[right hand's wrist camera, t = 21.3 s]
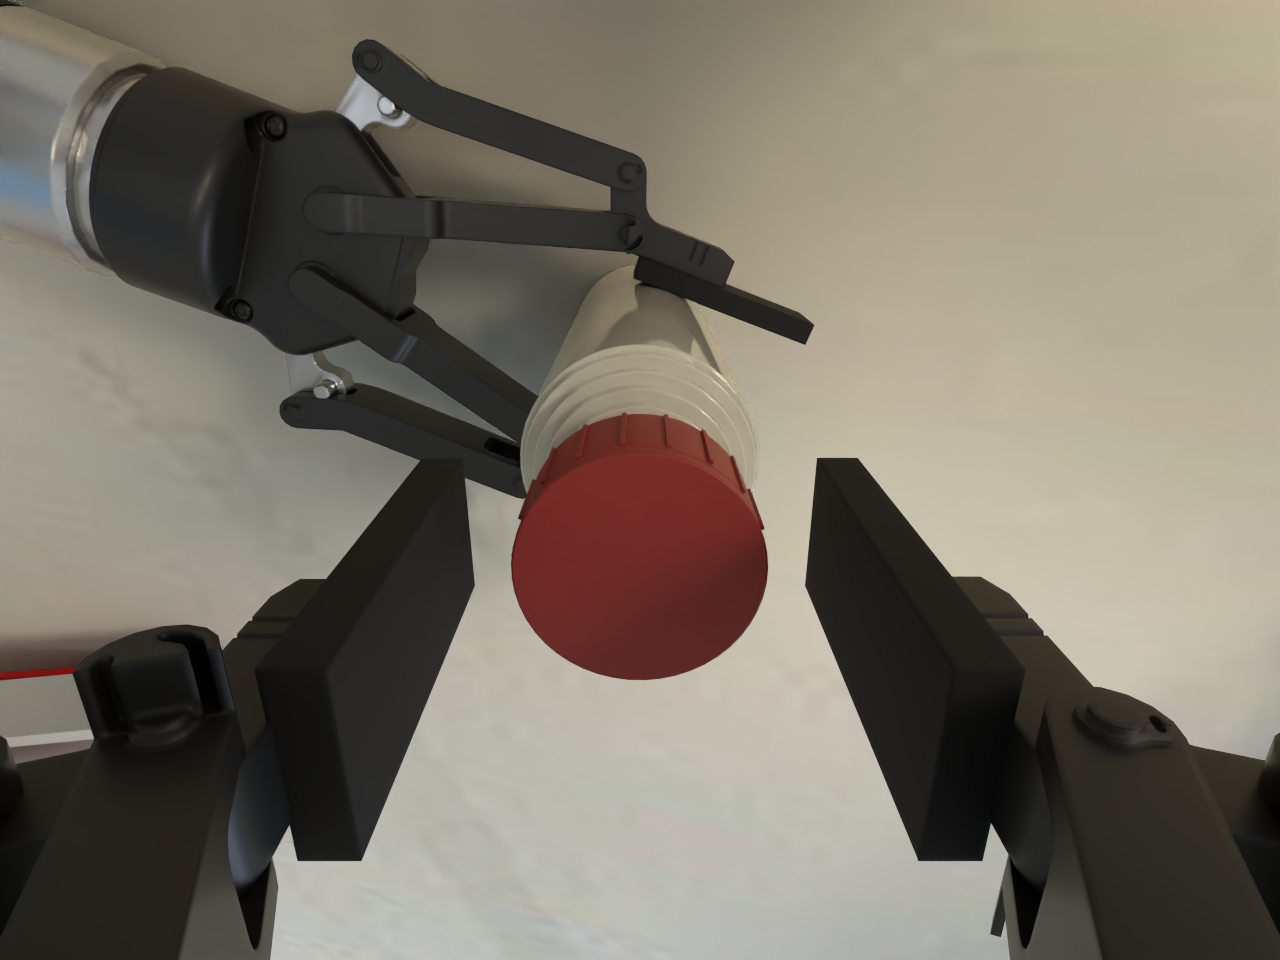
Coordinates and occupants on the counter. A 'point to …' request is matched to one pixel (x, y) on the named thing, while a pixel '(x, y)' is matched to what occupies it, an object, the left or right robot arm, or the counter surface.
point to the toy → (46, 716)
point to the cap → (639, 549)
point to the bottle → (638, 374)
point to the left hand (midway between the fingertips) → (765, 405)
